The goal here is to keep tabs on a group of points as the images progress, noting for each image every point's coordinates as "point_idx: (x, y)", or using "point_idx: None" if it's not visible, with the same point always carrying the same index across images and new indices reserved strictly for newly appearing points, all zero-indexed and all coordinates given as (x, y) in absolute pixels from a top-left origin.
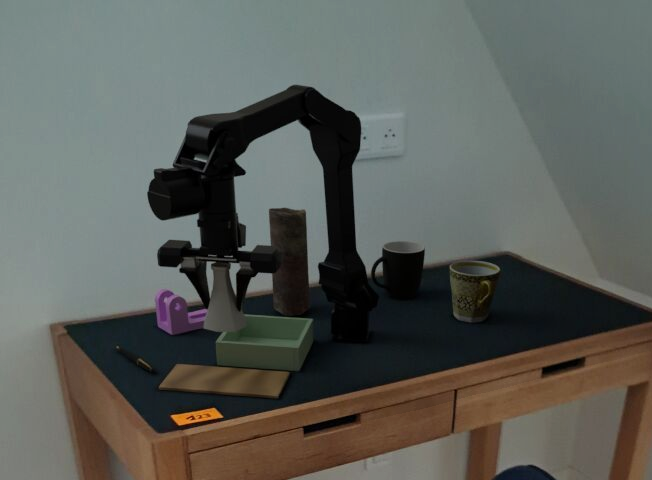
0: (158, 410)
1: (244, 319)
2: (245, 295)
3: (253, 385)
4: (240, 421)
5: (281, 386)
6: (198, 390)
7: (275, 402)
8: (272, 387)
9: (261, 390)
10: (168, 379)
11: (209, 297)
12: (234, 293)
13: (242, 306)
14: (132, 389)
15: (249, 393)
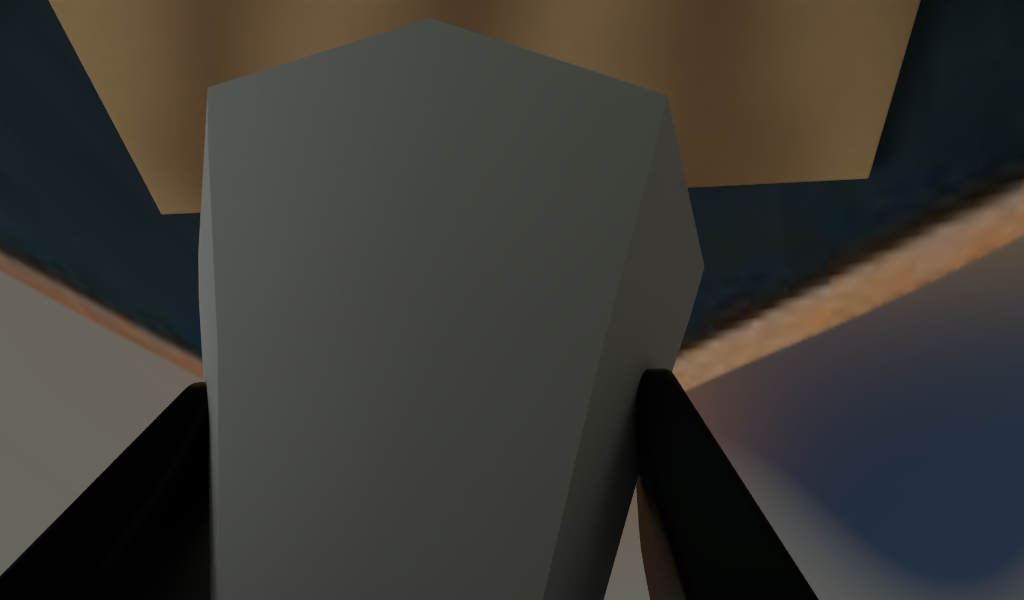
0: None
1: (680, 249)
2: (776, 541)
3: (697, 81)
4: (691, 378)
5: (899, 51)
6: None
7: (848, 207)
8: (833, 79)
9: (760, 134)
10: (135, 119)
11: (175, 505)
12: (571, 560)
13: (688, 402)
14: (41, 224)
15: (691, 184)
